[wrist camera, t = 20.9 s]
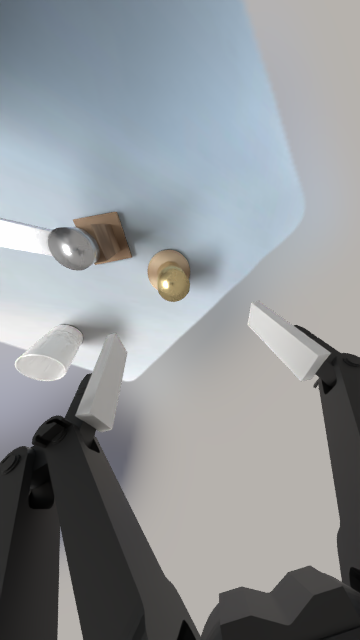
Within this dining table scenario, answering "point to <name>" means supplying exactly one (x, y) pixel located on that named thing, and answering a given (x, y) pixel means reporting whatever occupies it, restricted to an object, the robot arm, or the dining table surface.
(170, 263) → the brass cylinder
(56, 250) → the lever
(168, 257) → the coaster
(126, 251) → the post
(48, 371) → the white cup
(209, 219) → the dining table surface
